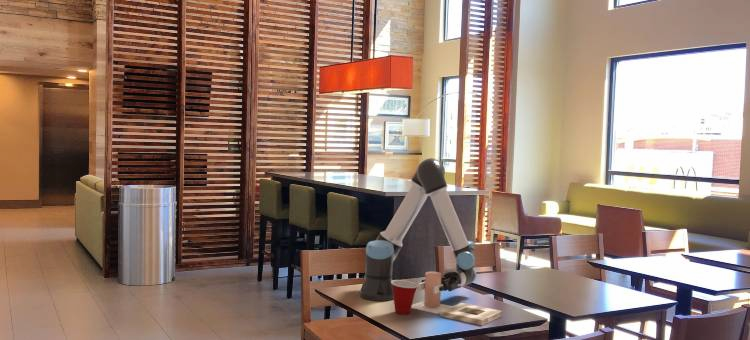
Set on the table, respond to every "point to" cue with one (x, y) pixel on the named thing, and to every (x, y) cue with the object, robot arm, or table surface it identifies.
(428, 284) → the terracotta canister
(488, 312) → the socket board
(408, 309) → the plastic cup
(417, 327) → the table surface
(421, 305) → the off-white pad
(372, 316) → the table surface
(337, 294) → the table surface
